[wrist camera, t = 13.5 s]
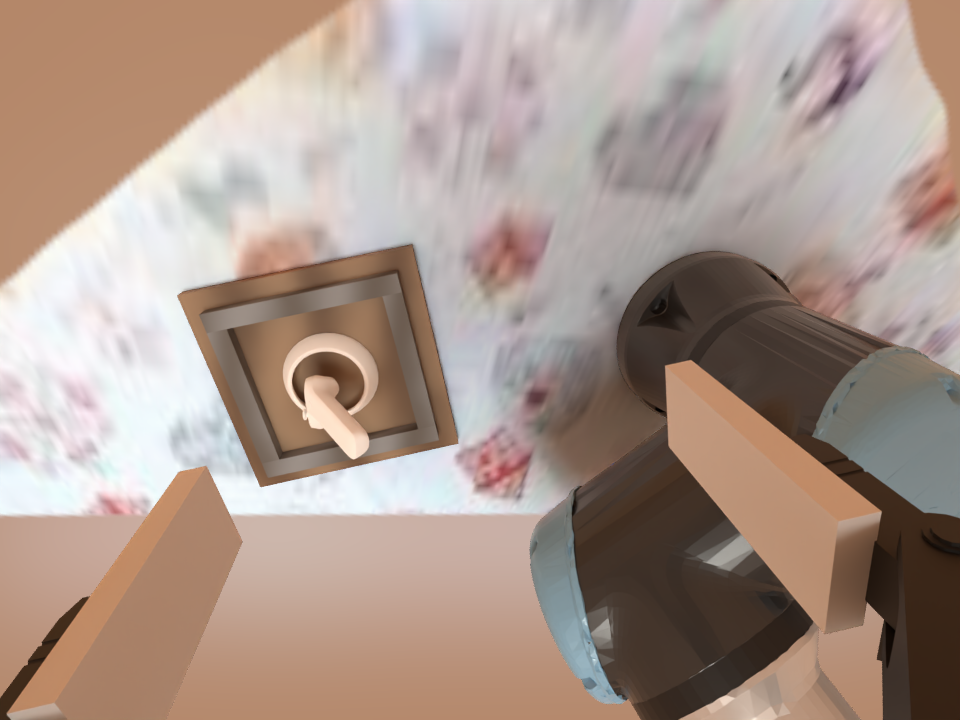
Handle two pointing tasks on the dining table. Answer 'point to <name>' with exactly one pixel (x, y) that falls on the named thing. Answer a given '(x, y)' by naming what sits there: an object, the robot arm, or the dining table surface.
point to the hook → (333, 390)
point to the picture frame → (324, 360)
